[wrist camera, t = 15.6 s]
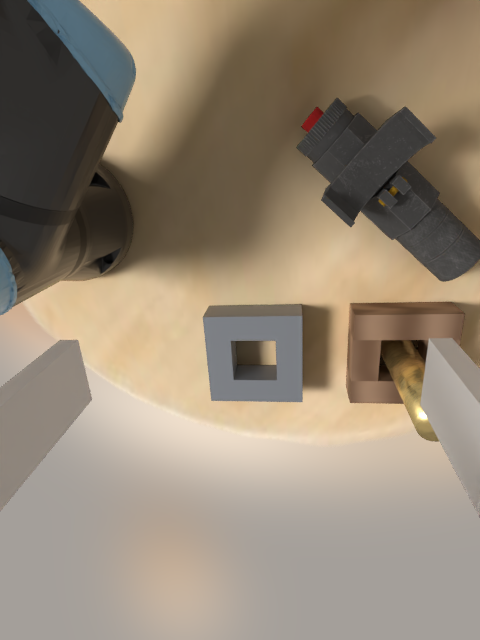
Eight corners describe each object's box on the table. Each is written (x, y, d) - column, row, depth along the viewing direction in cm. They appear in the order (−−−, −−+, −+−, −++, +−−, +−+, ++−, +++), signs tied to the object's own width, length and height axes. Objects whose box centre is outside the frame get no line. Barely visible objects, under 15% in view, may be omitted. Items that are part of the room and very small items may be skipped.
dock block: (346, 386, 54) (350, 402, 50) (349, 303, 49) (354, 315, 46) (438, 387, 52) (449, 404, 49) (451, 301, 48) (464, 313, 44)
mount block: (216, 384, 56) (211, 400, 52) (209, 305, 52) (202, 317, 48) (301, 385, 55) (302, 402, 51) (301, 304, 50) (302, 315, 46)
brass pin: (378, 360, 52) (413, 440, 37) (380, 332, 50) (417, 405, 36) (410, 360, 51) (458, 442, 37) (413, 332, 50) (464, 405, 35)
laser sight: (416, 285, 48) (446, 315, 39) (277, 157, 44) (274, 156, 35) (485, 223, 44) (536, 240, 35) (340, 78, 41) (355, 55, 31)
